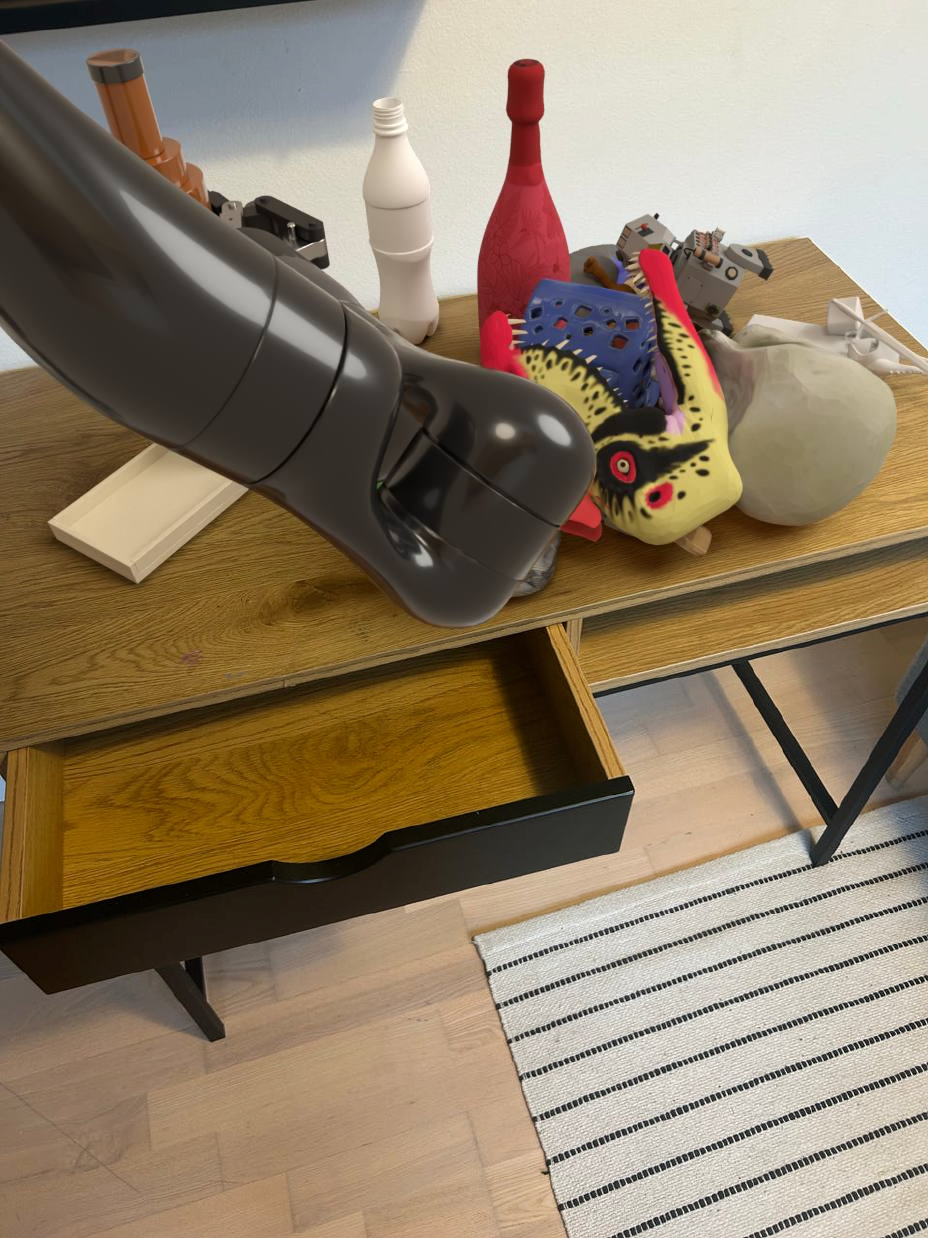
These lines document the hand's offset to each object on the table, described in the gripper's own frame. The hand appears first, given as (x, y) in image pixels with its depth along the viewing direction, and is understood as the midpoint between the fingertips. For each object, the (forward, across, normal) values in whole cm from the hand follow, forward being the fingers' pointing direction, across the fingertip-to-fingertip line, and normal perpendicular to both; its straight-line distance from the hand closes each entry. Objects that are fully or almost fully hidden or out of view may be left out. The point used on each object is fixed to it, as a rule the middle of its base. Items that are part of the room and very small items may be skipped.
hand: (149, 219), depth 53 cm
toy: (-16, -38, +18) cm, 45 cm away
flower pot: (-5, -30, +27) cm, 41 cm away
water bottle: (+25, -33, +32) cm, 53 cm away
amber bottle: (-2, 0, +11) cm, 11 cm away
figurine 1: (+2, -65, +28) cm, 70 cm away
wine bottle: (+12, -40, +32) cm, 53 cm away
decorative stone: (-12, -18, +25) cm, 33 cm away
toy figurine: (+7, -47, +29) cm, 56 cm away
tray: (+18, -5, +32) cm, 38 cm away
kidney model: (+8, -48, +31) cm, 58 cm away
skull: (-13, -36, +20) cm, 43 cm away
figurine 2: (-2, -60, +29) cm, 66 cm away
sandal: (-16, -32, +28) cm, 45 cm away
